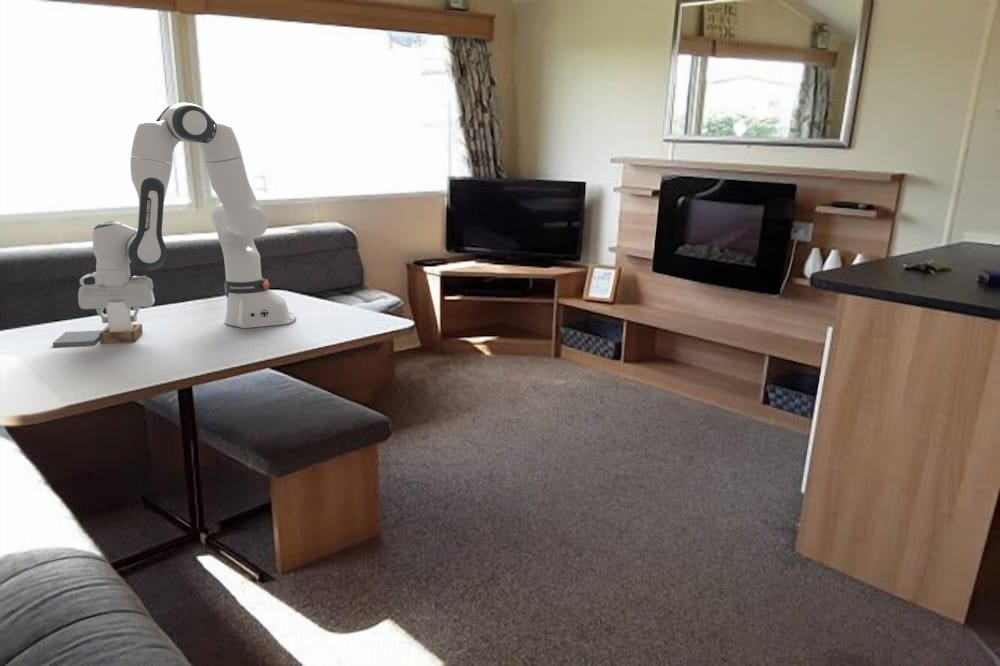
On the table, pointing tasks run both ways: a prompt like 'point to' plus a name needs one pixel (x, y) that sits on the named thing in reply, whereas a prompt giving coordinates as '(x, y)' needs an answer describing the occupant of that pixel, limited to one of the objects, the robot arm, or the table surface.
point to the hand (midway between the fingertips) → (119, 321)
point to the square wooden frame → (121, 335)
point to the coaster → (77, 338)
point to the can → (118, 317)
